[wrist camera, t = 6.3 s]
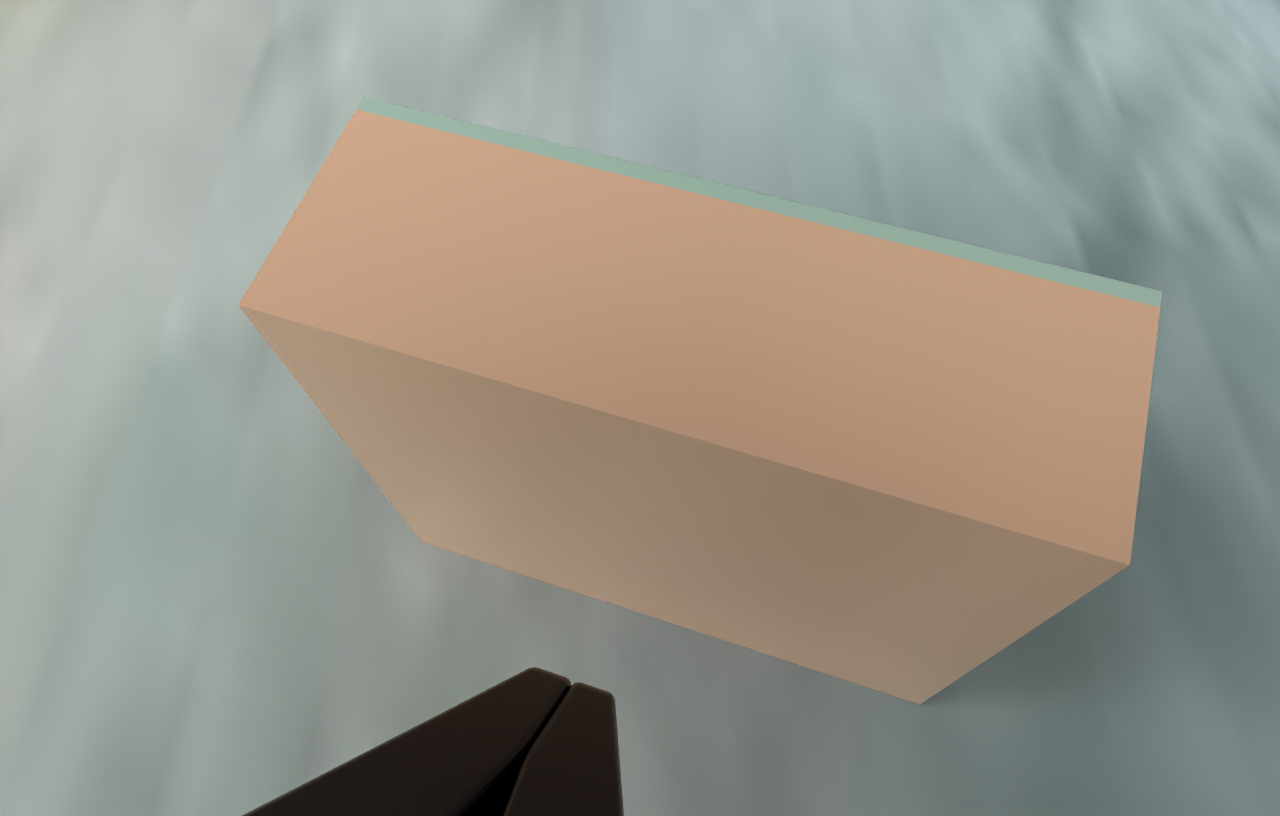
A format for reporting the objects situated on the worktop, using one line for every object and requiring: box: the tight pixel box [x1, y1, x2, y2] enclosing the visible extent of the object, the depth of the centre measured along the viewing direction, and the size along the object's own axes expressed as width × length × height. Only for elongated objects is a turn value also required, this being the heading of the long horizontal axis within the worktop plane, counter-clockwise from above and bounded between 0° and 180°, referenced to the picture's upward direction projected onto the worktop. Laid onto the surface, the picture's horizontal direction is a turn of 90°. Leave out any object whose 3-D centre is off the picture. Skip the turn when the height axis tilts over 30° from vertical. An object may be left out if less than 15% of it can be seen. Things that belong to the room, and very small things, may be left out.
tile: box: [239, 97, 1163, 704], centre depth 13 cm, size 3×9×8 cm, turn 71°
